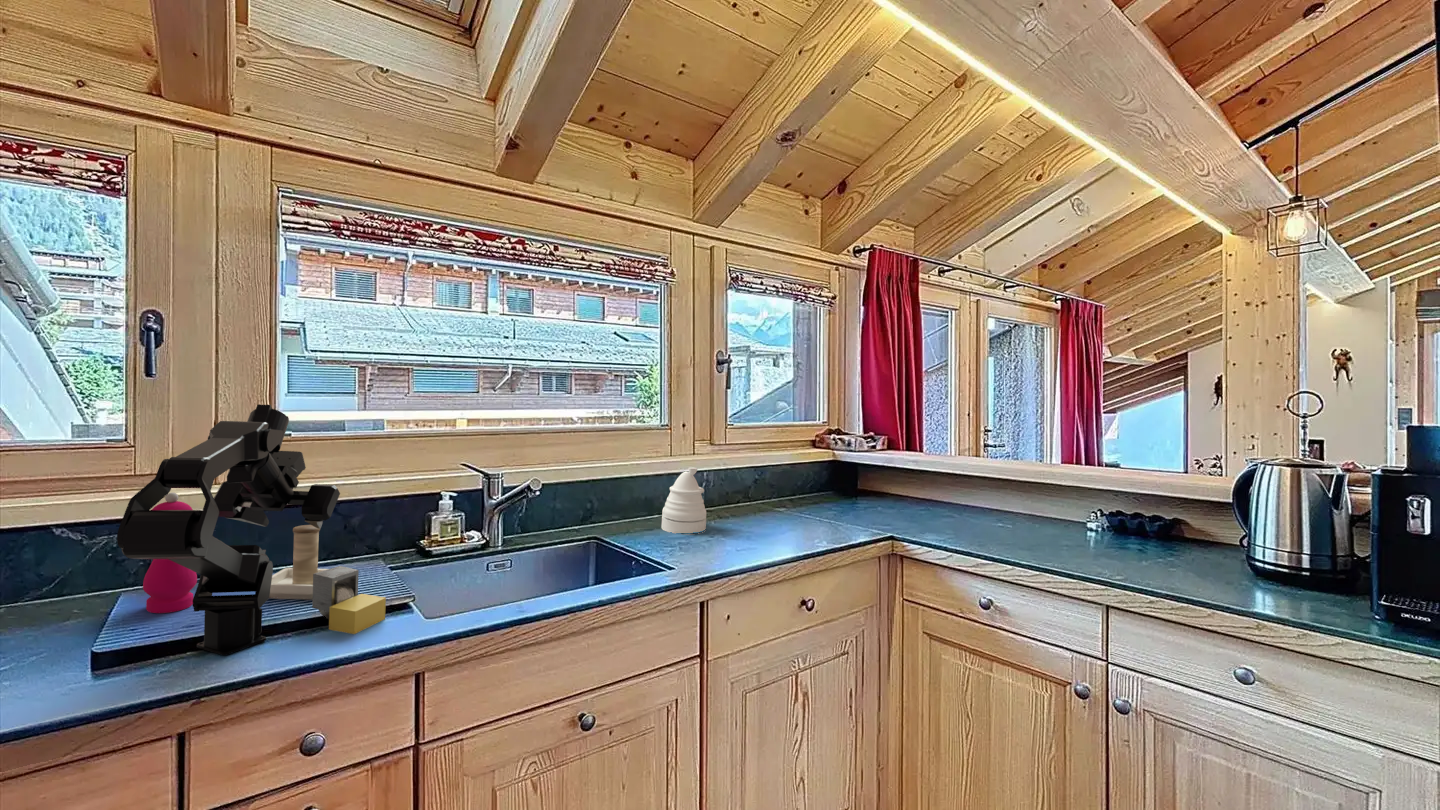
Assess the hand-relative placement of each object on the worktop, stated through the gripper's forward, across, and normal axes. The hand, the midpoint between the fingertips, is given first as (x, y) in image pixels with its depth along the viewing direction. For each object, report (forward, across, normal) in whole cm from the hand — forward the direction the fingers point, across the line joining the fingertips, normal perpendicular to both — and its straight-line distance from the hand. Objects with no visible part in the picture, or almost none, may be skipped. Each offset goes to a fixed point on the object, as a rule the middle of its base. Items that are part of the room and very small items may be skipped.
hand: (293, 525), depth 122 cm
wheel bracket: (+4, -11, +15) cm, 19 cm away
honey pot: (+54, -75, -34) cm, 99 cm away
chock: (+2, -16, +18) cm, 24 cm away
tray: (+13, 0, +6) cm, 14 cm away
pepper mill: (+6, +17, +14) cm, 23 cm away
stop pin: (+12, 0, +6) cm, 13 cm away
